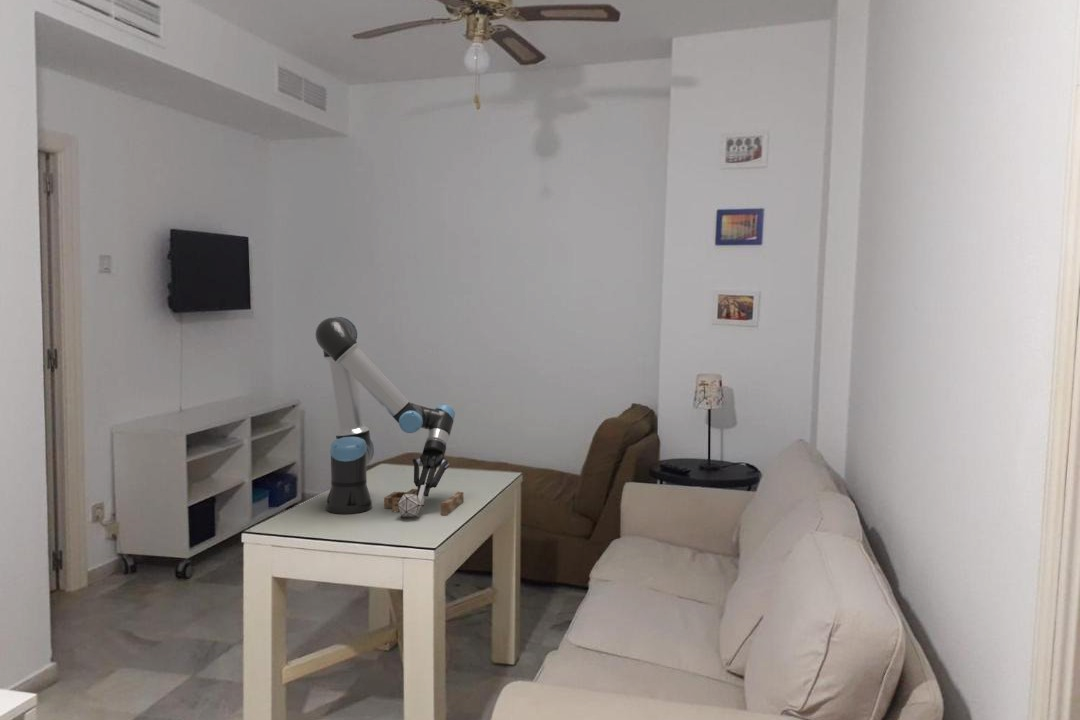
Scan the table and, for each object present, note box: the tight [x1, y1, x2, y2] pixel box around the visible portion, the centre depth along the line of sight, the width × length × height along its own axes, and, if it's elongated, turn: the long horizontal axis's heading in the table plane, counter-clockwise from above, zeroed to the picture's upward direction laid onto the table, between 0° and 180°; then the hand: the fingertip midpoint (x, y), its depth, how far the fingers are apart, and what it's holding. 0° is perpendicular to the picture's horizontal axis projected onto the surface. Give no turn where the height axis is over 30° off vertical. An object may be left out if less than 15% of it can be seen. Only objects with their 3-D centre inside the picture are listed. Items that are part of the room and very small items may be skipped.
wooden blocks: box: [383, 488, 464, 516], centre depth 267 cm, size 18×24×4 cm
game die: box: [395, 491, 425, 519], centre depth 252 cm, size 9×8×10 cm
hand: (419, 504), depth 256 cm, fingers closed
